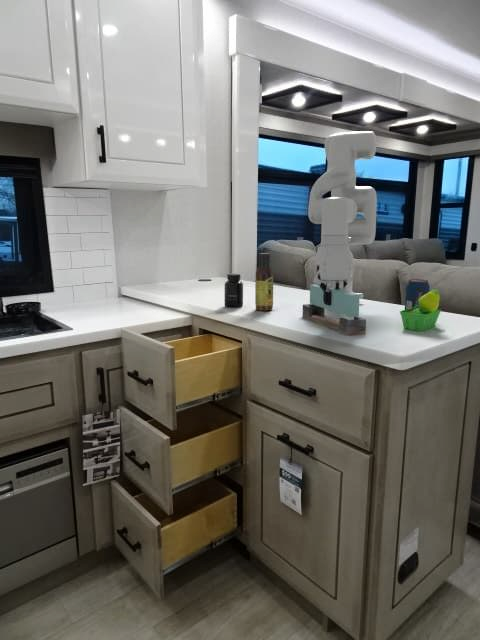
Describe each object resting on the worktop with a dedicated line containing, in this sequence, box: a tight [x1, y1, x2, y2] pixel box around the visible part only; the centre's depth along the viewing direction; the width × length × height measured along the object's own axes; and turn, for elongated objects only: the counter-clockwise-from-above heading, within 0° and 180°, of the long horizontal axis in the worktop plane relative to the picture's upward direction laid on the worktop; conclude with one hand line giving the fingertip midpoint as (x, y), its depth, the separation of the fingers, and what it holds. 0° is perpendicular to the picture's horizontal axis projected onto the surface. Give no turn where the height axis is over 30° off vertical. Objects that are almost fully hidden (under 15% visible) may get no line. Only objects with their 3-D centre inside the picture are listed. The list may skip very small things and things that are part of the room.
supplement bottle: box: [224, 273, 244, 309], centre depth 164 cm, size 7×7×12 cm
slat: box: [309, 284, 361, 318], centre depth 133 cm, size 24×2×6 cm, turn 19°
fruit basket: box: [399, 289, 442, 332], centre depth 128 cm, size 11×9×11 cm
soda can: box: [404, 278, 431, 310], centre depth 142 cm, size 7×7×12 cm
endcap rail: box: [302, 303, 367, 336], centre depth 134 cm, size 6×27×4 cm, turn 19°
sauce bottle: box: [254, 252, 274, 312], centre depth 156 cm, size 6×6×20 cm
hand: (332, 303), depth 133 cm, fingers closed on slat, 2 cm apart
